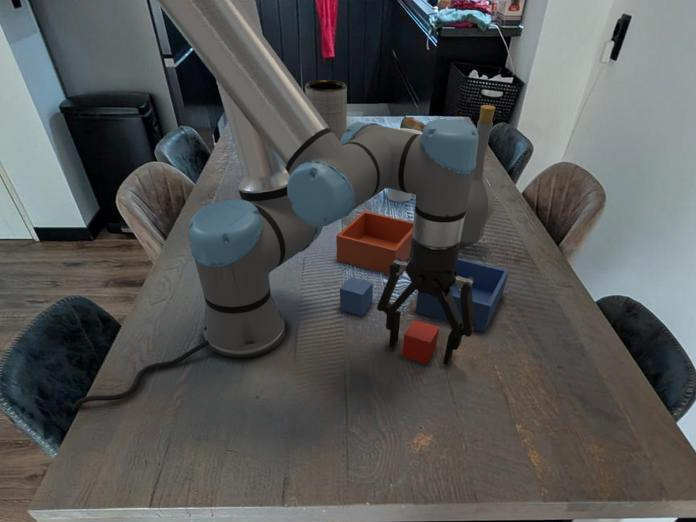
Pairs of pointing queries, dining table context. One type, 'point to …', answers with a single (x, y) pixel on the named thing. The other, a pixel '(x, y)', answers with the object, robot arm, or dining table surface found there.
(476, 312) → the blue bin
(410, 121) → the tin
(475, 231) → the bottle
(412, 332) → the red block
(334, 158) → the robot arm
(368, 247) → the red bin
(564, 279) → the dining table surface
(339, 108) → the vase
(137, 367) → the dining table surface
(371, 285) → the blue block
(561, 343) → the dining table surface
